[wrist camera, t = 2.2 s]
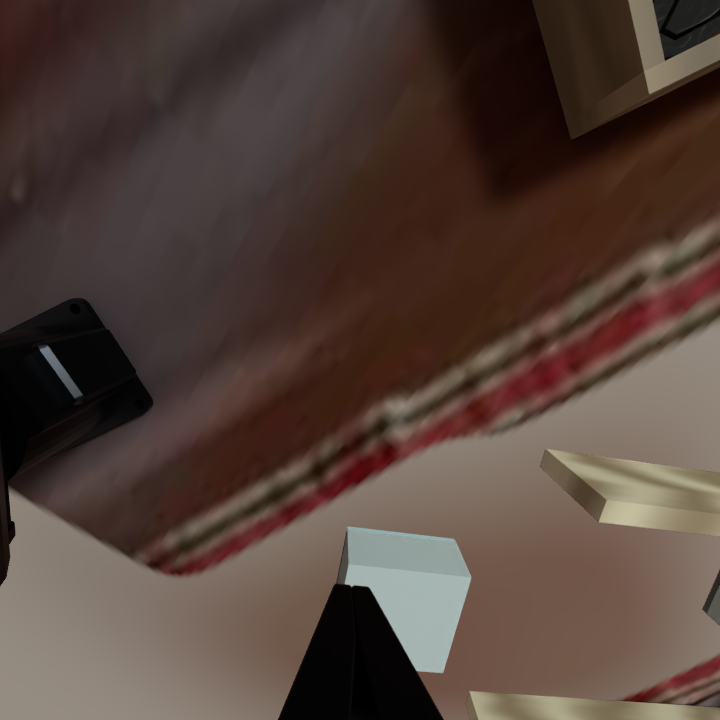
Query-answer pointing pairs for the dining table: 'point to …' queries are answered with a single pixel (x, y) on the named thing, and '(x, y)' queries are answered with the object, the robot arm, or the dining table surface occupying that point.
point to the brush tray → (612, 58)
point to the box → (631, 508)
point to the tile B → (713, 601)
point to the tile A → (410, 587)
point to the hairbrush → (685, 23)
